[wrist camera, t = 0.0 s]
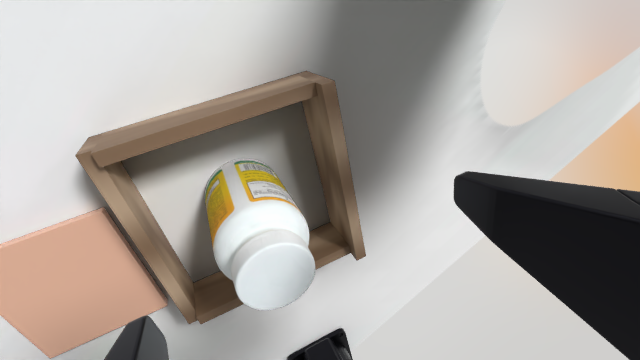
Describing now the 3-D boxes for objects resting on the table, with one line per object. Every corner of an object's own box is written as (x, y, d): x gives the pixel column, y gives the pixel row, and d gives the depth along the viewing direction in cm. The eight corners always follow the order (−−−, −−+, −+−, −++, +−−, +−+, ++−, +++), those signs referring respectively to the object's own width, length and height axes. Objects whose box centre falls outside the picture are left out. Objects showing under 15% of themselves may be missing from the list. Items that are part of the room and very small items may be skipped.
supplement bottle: (261, 144, 22) (311, 210, 14) (287, 202, 25) (341, 284, 17) (188, 178, 21) (198, 269, 13) (224, 234, 24) (250, 338, 16)
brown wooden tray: (340, 225, 28) (365, 256, 24) (187, 294, 25) (190, 341, 21) (306, 71, 21) (334, 80, 18) (88, 137, 18) (66, 166, 14)
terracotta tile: (167, 300, 24) (167, 305, 24) (52, 351, 22) (50, 358, 22) (103, 207, 20) (101, 211, 19) (-48, 261, 18) (-54, 268, 17)
